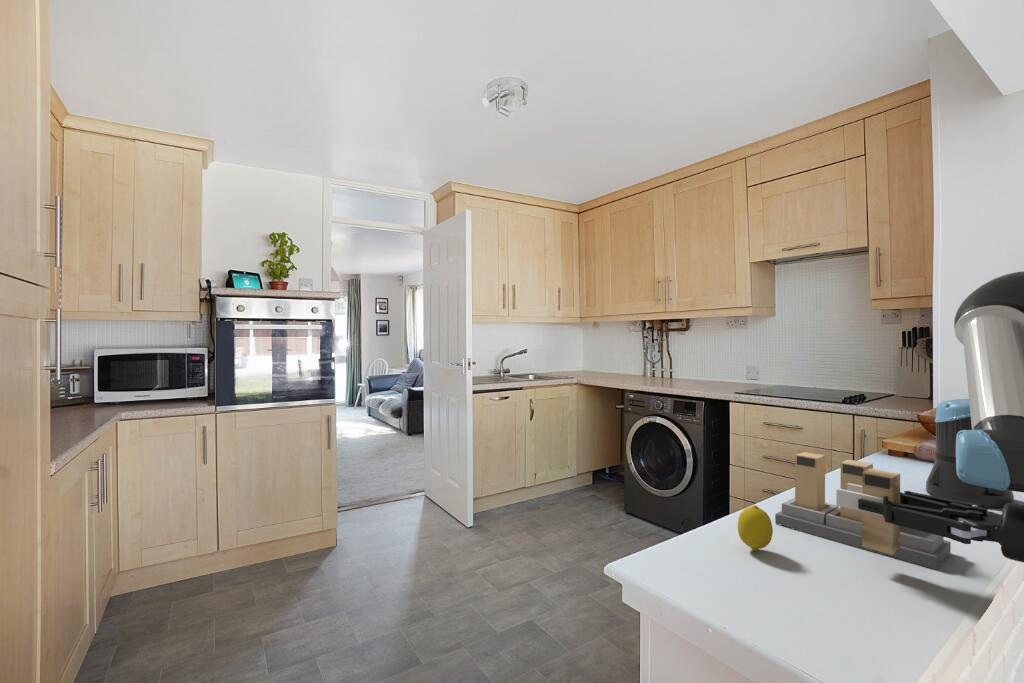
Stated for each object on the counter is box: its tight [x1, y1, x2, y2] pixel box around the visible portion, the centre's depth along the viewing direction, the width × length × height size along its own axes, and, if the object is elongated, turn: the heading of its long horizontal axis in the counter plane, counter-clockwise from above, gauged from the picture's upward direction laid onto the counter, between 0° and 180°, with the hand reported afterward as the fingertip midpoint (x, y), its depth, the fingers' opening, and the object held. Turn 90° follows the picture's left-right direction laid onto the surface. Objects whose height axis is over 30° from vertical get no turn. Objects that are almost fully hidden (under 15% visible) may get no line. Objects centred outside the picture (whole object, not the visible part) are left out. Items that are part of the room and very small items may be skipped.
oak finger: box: [862, 468, 901, 555], centre depth 79 cm, size 4×4×12 cm
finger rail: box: [774, 451, 952, 571], centre depth 92 cm, size 10×25×14 cm, turn 38°
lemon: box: [737, 504, 774, 552], centre depth 86 cm, size 6×6×8 cm
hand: (842, 494), depth 83 cm, fingers closed on oak finger, 4 cm apart
